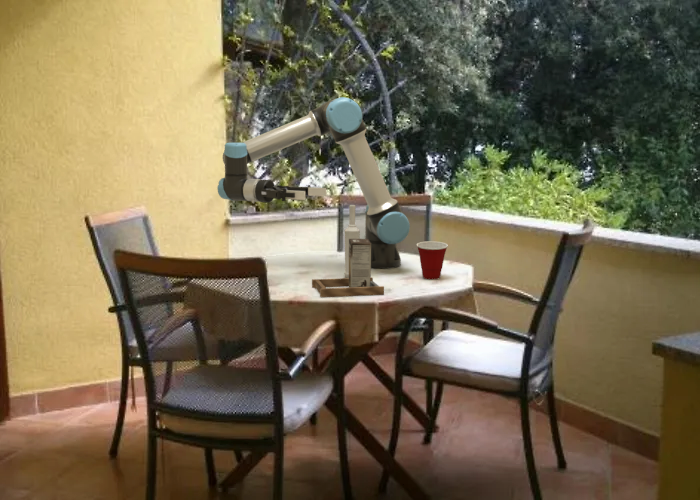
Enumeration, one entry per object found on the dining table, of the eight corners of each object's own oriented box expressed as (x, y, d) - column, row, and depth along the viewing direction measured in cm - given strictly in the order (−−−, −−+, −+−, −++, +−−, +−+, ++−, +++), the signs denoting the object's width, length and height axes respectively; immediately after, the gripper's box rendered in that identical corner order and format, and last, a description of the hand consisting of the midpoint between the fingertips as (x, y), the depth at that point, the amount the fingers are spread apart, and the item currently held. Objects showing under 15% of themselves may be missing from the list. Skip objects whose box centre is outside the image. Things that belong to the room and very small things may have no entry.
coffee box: (347, 287, 257) (348, 238, 255) (367, 287, 258) (368, 238, 255) (350, 293, 248) (350, 242, 246) (370, 293, 249) (371, 242, 246)
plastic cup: (415, 280, 269) (415, 245, 267) (415, 274, 280) (416, 240, 278) (447, 281, 268) (448, 246, 266) (447, 275, 279) (448, 241, 277)
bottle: (361, 277, 275) (362, 205, 270) (356, 279, 270) (357, 206, 266) (347, 275, 276) (347, 204, 272) (342, 278, 271) (342, 205, 267)
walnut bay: (371, 284, 262) (371, 277, 262) (383, 294, 247) (384, 286, 247) (312, 287, 258) (312, 279, 257) (320, 297, 243) (320, 289, 242)
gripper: (280, 198, 276) (334, 202, 267) (238, 205, 254) (295, 209, 245) (280, 177, 275) (334, 179, 266) (238, 181, 253) (295, 184, 244)
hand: (315, 193), depth 255 cm, fingers open, 13 cm apart
